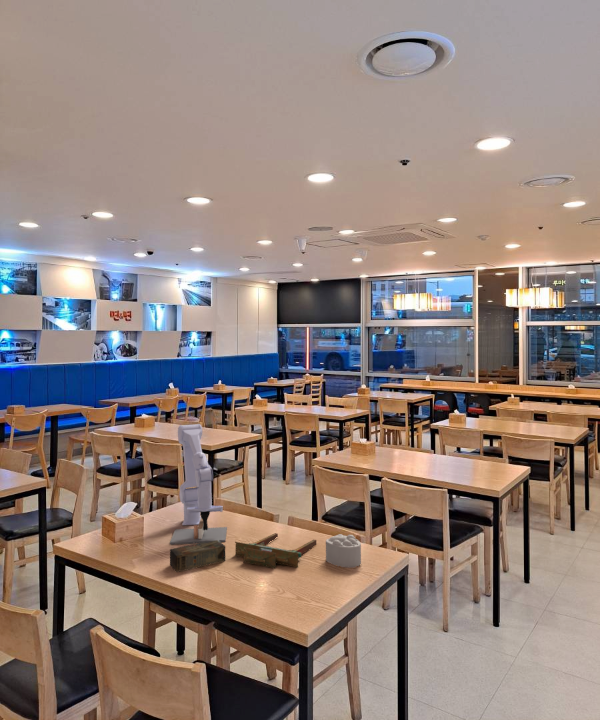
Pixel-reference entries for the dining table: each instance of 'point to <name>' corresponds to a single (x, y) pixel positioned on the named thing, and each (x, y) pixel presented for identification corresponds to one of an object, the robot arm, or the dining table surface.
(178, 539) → the grey plate with bar
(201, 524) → the gate
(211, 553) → the dark olive rectangular block
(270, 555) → the miniature gate
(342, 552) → the lumpy-topped squat cylinder
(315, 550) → the dining table surface
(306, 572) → the dining table surface
